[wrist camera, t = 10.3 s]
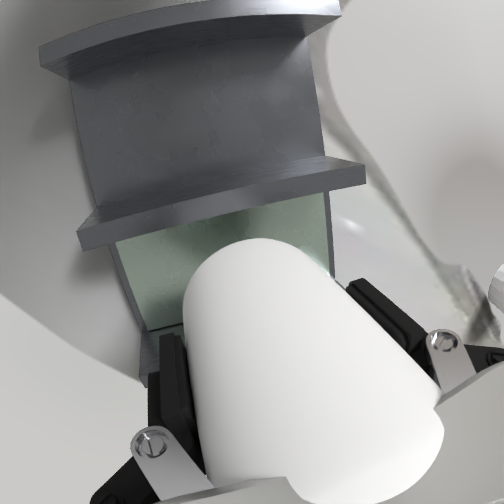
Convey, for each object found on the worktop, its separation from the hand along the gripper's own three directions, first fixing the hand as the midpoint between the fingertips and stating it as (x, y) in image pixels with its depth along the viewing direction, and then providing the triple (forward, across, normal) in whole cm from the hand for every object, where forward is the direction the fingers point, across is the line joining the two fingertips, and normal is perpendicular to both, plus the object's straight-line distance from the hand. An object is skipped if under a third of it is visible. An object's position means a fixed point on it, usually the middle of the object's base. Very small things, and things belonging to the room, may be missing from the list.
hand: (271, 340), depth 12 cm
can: (+3, 0, 0) cm, 3 cm away
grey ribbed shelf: (+10, 0, -4) cm, 11 cm away
